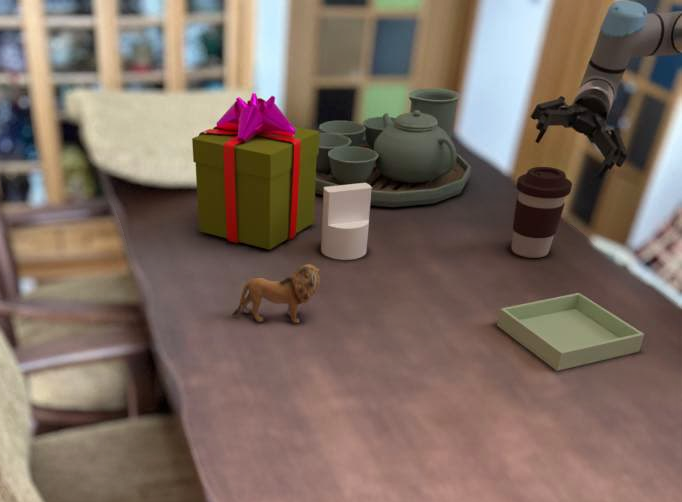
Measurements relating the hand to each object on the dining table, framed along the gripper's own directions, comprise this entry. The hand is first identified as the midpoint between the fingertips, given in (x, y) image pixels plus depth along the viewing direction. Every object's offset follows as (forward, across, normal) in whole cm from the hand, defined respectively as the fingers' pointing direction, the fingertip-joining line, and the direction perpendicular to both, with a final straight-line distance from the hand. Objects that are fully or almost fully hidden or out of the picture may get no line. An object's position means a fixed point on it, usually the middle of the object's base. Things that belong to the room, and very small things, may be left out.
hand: (572, 153), depth 155 cm
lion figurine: (+54, +32, -22) cm, 67 cm away
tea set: (-19, +33, -34) cm, 51 cm away
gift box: (+21, +48, -34) cm, 62 cm away
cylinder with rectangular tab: (+24, +30, -26) cm, 46 cm away
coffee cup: (+9, -3, -16) cm, 19 cm away
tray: (+42, -12, -7) cm, 45 cm away
